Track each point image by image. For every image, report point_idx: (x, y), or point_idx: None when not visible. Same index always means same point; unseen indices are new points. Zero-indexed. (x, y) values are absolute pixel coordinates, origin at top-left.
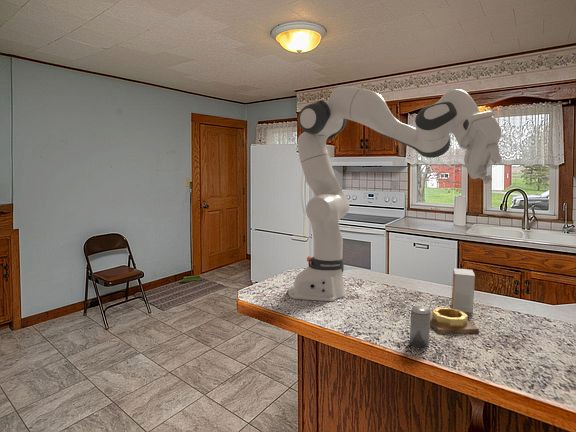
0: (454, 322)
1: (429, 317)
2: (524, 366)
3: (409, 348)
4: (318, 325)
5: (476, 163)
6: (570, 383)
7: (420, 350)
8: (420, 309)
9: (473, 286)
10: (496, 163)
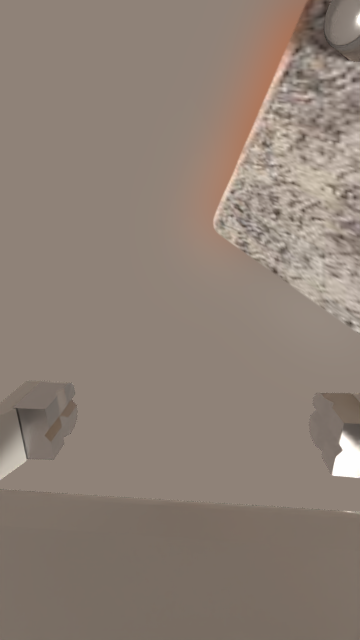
0: None
1: (333, 47)
2: (281, 223)
3: None
4: None
5: (358, 545)
6: (249, 255)
7: None
8: (348, 11)
9: None
10: (71, 393)
